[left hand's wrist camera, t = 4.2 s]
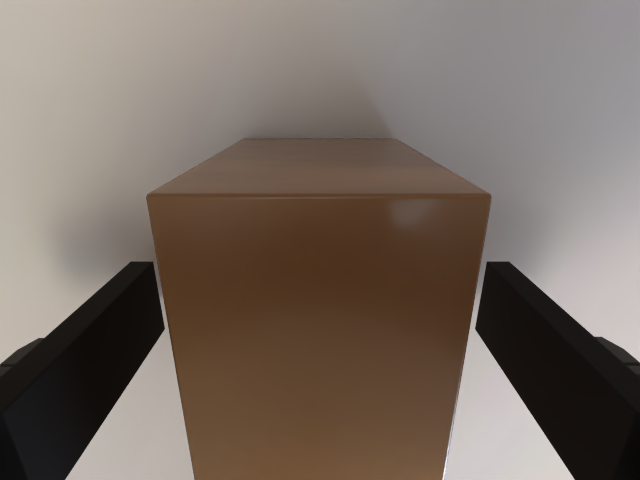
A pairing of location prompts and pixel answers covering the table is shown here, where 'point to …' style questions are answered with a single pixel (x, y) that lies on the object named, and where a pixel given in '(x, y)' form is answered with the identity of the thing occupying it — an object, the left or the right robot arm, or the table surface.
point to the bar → (319, 307)
